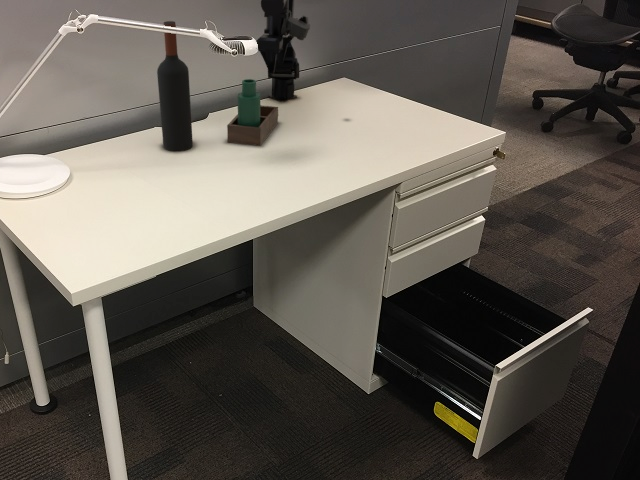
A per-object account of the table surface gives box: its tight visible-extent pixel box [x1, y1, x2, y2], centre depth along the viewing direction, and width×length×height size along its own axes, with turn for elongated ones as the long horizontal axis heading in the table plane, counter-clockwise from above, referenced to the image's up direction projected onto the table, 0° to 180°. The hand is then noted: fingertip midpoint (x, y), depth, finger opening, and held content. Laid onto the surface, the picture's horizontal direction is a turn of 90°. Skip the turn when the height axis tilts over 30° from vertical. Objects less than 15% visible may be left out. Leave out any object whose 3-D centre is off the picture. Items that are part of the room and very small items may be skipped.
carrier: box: [226, 104, 279, 147], centre depth 178 cm, size 17×9×5 cm, turn 162°
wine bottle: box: [156, 20, 194, 153], centre depth 163 cm, size 8×8×30 cm
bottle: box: [237, 78, 262, 127], centre depth 171 cm, size 6×6×14 cm
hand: (276, 68), depth 182 cm, fingers open, 9 cm apart
